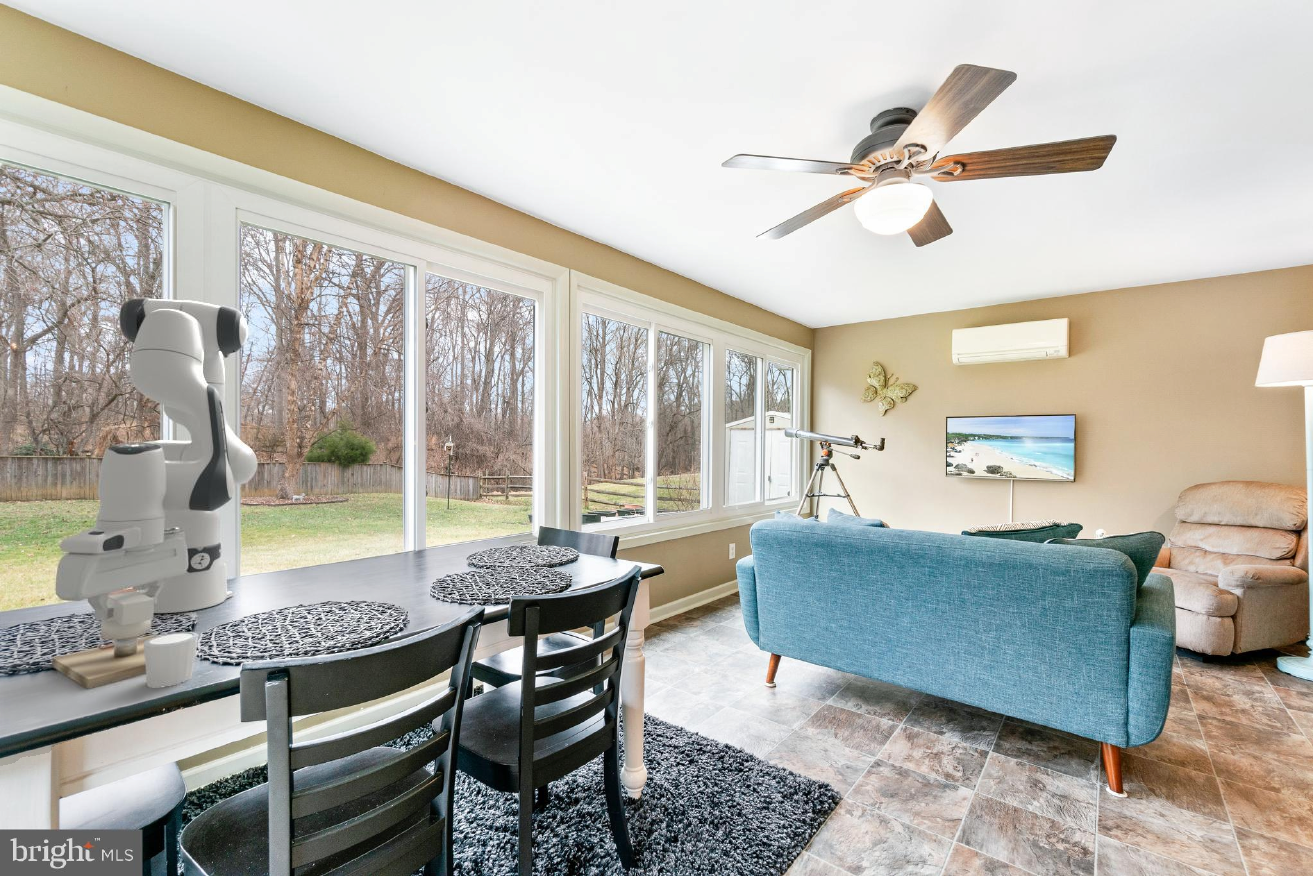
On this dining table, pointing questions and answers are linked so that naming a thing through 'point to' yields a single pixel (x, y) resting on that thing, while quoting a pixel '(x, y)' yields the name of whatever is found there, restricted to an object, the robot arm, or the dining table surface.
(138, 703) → the dining table surface
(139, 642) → the base plate
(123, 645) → the post
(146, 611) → the orange-ended white bar
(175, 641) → the white tapered cup
